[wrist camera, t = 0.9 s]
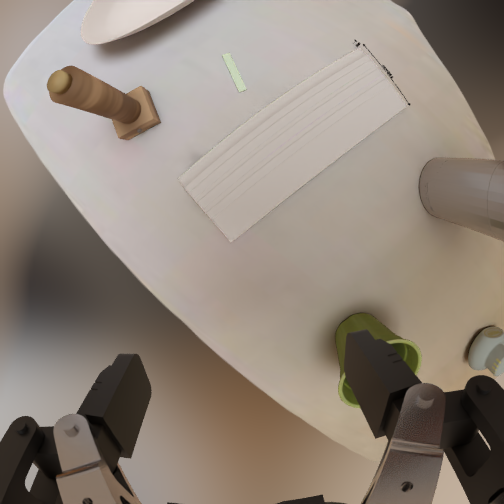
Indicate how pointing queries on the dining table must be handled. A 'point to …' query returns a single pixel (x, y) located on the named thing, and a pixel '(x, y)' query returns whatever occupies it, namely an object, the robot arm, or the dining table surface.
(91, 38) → the bowl
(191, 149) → the dining table surface
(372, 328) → the plant pot
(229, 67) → the tape mark
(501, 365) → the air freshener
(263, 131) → the baseboard molding
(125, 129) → the brown peg on stand
